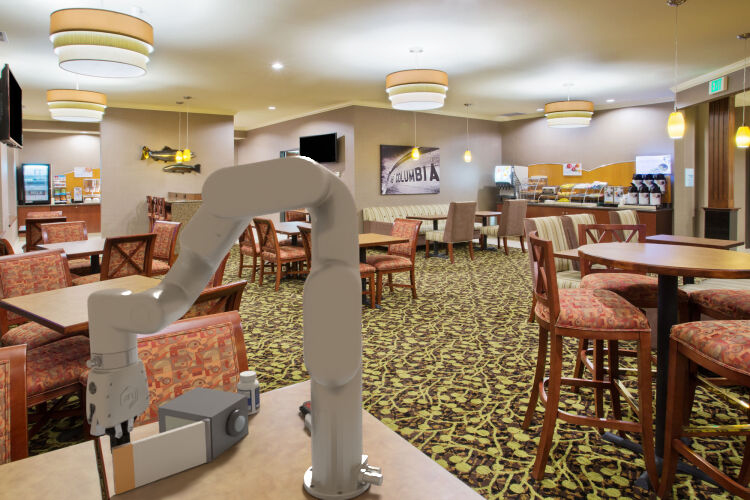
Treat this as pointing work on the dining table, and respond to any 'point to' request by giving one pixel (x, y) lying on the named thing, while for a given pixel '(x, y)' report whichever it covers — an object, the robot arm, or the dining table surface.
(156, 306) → the robot arm
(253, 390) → the pill bottle
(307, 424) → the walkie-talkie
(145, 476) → the side door
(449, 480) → the dining table surface
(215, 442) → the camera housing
